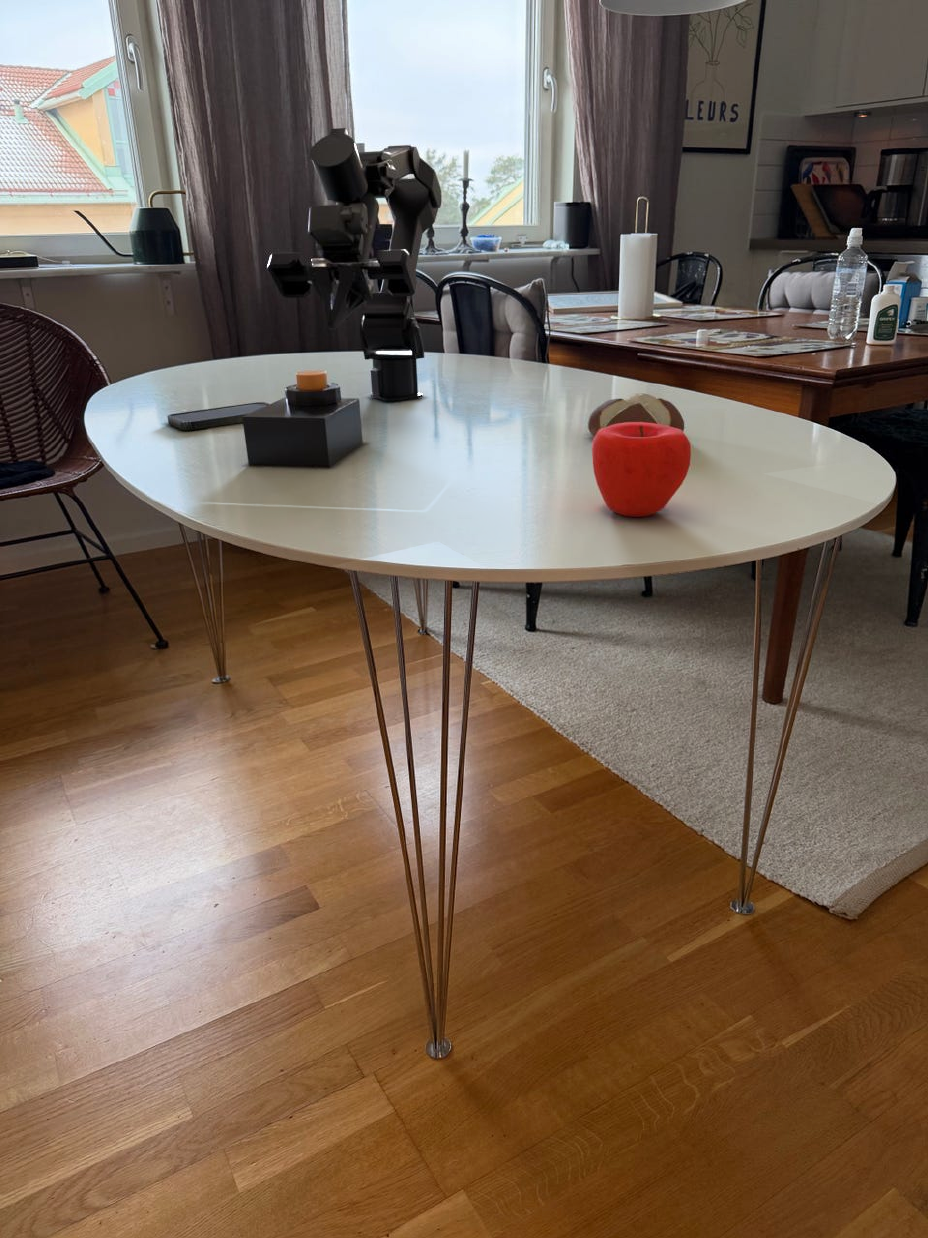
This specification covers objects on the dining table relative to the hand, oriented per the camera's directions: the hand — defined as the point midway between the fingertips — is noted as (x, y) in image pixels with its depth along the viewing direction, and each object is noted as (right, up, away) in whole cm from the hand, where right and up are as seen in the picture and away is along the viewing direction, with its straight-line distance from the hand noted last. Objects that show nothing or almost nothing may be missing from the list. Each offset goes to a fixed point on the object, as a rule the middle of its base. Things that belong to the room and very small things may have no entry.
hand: (330, 326), depth 108 cm
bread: (+38, -15, -1) cm, 41 cm away
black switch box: (-2, -17, -5) cm, 18 cm away
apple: (+33, -27, -29) cm, 51 cm away
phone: (-18, -8, +16) cm, 25 cm away
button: (-1, -9, -4) cm, 10 cm away
